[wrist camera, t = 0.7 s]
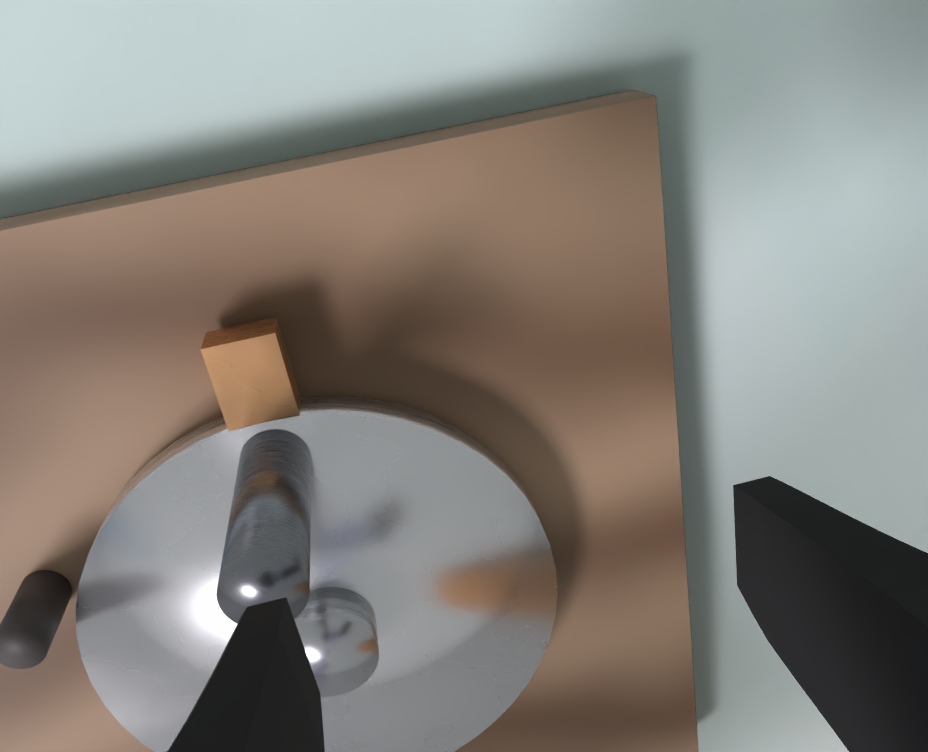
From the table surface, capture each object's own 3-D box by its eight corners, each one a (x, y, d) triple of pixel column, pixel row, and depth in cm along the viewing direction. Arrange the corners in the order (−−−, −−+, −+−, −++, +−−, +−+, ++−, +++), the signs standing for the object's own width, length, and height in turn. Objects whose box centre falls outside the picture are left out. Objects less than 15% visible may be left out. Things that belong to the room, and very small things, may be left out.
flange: (571, 703, 25) (637, 886, 20) (175, 806, 24) (136, 1025, 19) (502, 267, 19) (571, 367, 14) (-32, 384, 18) (-174, 537, 13)
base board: (682, 736, 29) (728, 829, 26) (112, 888, 27) (85, 1006, 24) (632, 89, 19) (695, 107, 16) (-246, 269, 18) (-372, 327, 15)
